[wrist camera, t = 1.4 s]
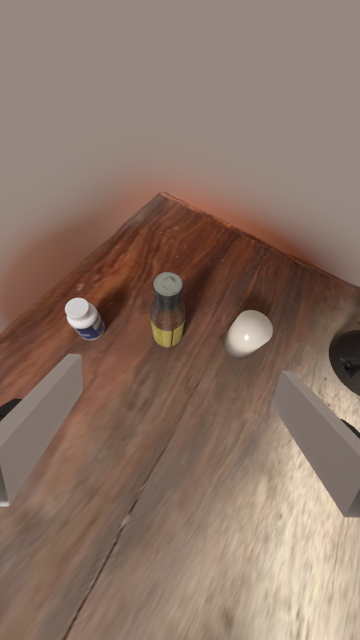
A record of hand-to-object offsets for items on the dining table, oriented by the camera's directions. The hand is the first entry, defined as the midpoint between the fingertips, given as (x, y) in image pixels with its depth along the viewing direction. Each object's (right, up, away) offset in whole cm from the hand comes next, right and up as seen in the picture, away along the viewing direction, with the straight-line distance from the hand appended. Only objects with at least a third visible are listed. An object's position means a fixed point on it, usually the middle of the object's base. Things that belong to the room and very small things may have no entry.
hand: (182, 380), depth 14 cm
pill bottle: (-19, +2, +32) cm, 37 cm away
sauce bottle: (-3, 0, +33) cm, 33 cm away
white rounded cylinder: (+13, -1, +33) cm, 36 cm away
